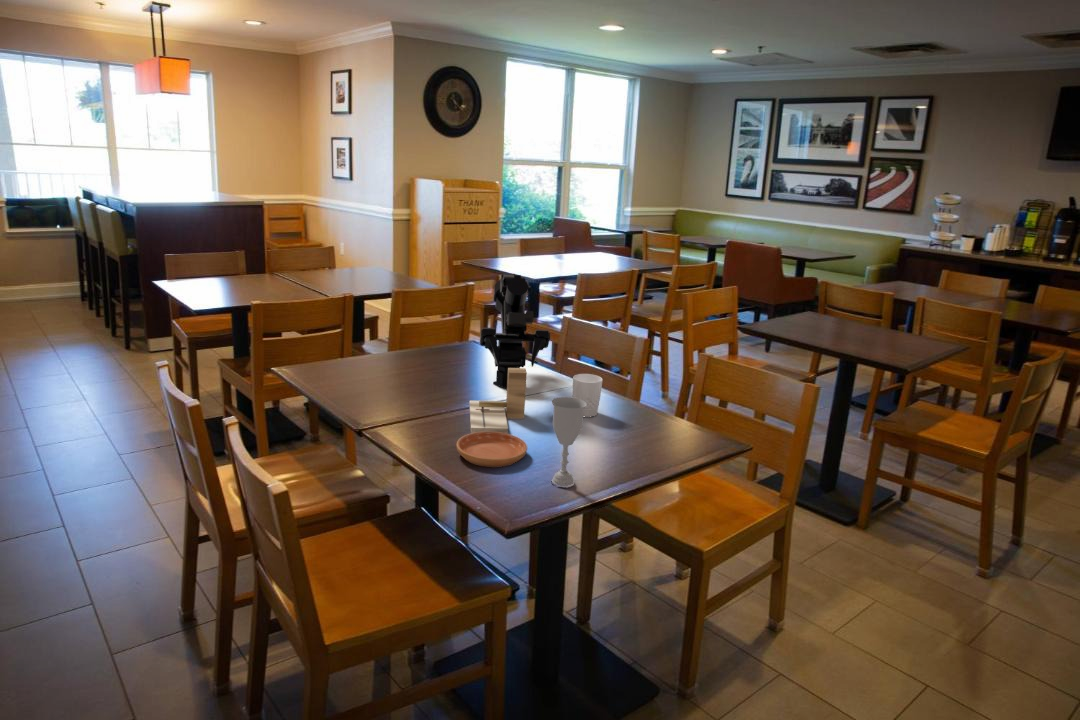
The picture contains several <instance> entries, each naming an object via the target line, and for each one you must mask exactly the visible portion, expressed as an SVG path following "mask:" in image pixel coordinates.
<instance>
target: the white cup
mask: <svg viewBox="0 0 1080 720" xmlns="http://www.w3.org/2000/svg"><path fill="white" fill-rule="evenodd" d="M602 385H603V378H602V377H601V376H599V375H596V374H592V373H578V374H575V375H573V377H572V398H577V399H580V400H583V401H585V402H586V404H587V405H586V407H585V408H584V411H583V416H585V417H584V418H591V417H590V416H594V417H596V416H598V412H599V406H600V400H601V395H602V394H601V393H602V388H603V387H602ZM595 415H596V416H595ZM587 416H588V417H587Z"/></svg>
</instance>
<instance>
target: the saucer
mask: <svg viewBox="0 0 1080 720" xmlns="http://www.w3.org/2000/svg"><path fill="white" fill-rule="evenodd" d="M456 451H457V452H458V454H460V456H461V457H462V458H464V460H466V461H467V462H469V463H471V464H472V465H476V466H480V467H486V468H503V467H507V465H508V466H511V465H513V463H514V464H516V463H517V462H519V461H520V460H522V458H524V457H525V455H527V451H528V445H527V443H526V442H525V441H524V440H523V439H522V438H520V437H518V436H515V435H512V434H510V433H508V434H506V433H500V432H475V433H471V432H470V433H468V434H465V435H463V436H461V437H459V438H458V440H457V441H456ZM515 462H516V463H515ZM502 466H503V467H502Z"/></svg>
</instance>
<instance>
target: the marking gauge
mask: <svg viewBox="0 0 1080 720" xmlns="http://www.w3.org/2000/svg"><path fill="white" fill-rule="evenodd" d="M527 374H528V373H527V369H526V368H524V367H520V368H508V380H507V389H506V400H505V401H503V400H478V401H479V407H482V409H484V407H504V408H505V415H506V419H519V420H521V419H525V408H526V407H525V405H526V389H527Z"/></svg>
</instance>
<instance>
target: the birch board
mask: <svg viewBox="0 0 1080 720" xmlns="http://www.w3.org/2000/svg"><path fill="white" fill-rule="evenodd" d="M479 401H480V400H469V406H468V407H469V418H470V419H469V420H470V421H469V422H470V423H469V424H470V434H471V433H475V432H500V433H506V434H509V426H508V419H507V417H506V409H505V407H484V409H482V407H479Z"/></svg>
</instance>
